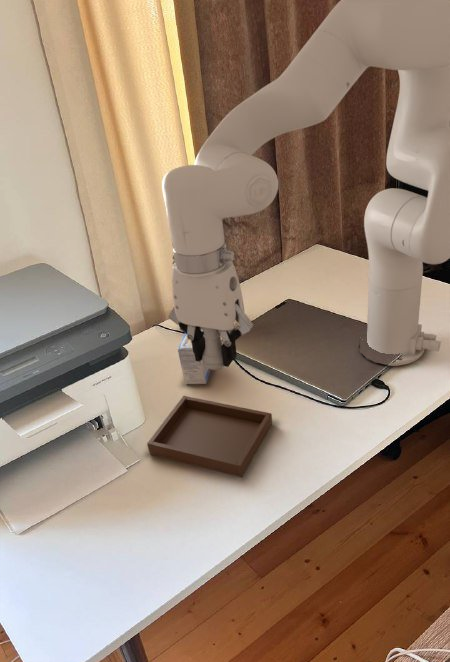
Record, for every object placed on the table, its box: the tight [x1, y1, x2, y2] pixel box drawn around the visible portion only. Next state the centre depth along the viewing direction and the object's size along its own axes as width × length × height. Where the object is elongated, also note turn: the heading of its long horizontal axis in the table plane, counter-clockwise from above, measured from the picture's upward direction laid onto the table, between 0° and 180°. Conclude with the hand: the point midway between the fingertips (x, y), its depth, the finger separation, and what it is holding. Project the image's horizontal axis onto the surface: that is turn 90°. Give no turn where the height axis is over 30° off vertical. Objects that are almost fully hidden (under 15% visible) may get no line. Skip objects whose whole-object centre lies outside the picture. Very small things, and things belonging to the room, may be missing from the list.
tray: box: [146, 395, 274, 478], centre depth 110 cm, size 18×14×3 cm
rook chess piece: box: [201, 327, 226, 371], centre depth 100 cm, size 4×4×8 cm
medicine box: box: [177, 330, 211, 385], centre depth 124 cm, size 8×4×9 cm, turn 168°
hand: (215, 358), depth 102 cm, fingers closed on rook chess piece, 4 cm apart
